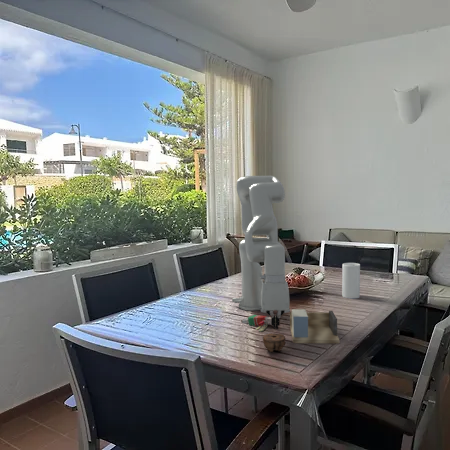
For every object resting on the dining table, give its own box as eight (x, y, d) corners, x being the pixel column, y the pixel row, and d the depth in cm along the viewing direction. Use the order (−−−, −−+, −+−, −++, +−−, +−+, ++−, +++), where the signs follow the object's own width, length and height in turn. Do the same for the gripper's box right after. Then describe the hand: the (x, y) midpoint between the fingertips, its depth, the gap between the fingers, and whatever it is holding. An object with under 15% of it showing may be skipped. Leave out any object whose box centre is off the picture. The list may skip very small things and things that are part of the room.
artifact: (259, 353, 141) (259, 339, 141) (266, 345, 148) (265, 331, 148) (282, 356, 138) (282, 341, 138) (287, 348, 145) (287, 334, 145)
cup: (341, 297, 206) (341, 265, 205) (343, 293, 214) (343, 262, 212) (358, 299, 203) (359, 266, 202) (360, 294, 211) (360, 263, 209)
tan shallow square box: (293, 343, 150) (293, 323, 149) (289, 327, 166) (289, 309, 165) (339, 343, 148) (339, 323, 148) (331, 327, 164) (331, 309, 164)
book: (293, 337, 152) (293, 316, 151) (291, 328, 161) (291, 309, 160) (307, 337, 152) (307, 316, 151) (305, 328, 161) (305, 309, 160)
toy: (250, 311, 181) (282, 311, 173) (251, 320, 181) (283, 321, 173) (232, 321, 168) (265, 322, 160) (233, 330, 169) (267, 332, 160)
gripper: (254, 280, 152) (255, 331, 153) (296, 280, 151) (297, 331, 152) (254, 276, 159) (255, 324, 161) (294, 276, 158) (295, 324, 160)
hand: (275, 327), depth 156 cm, fingers closed
